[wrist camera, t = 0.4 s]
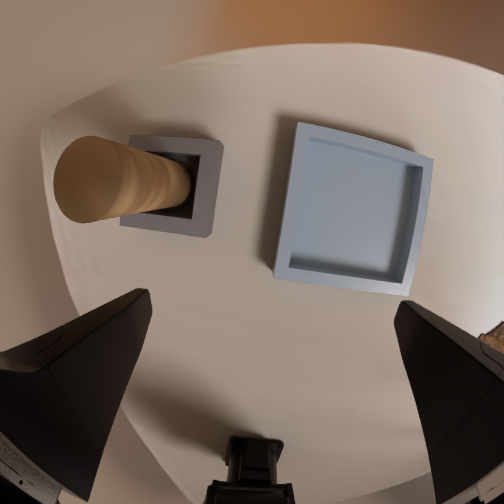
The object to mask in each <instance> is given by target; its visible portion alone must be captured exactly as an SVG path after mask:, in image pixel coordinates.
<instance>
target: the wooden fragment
mask: <svg viewBox="0 0 504 504" xmlns="http://www.w3.org/2000/svg"><path fill="white" fill-rule="evenodd" d="M477 339H479V340H481V341H482V342H484V343H486V344H487V345H489V346H491V347H492V348H494V349H496V350H498V351H499V352H501V353H503V354H504V323H502V325H501V326H500V327H498V328H496V330H494V331H493V332H491V333H489V334H486V335H484V334H482V335H481V336H480V337H479V338H477Z"/></svg>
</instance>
